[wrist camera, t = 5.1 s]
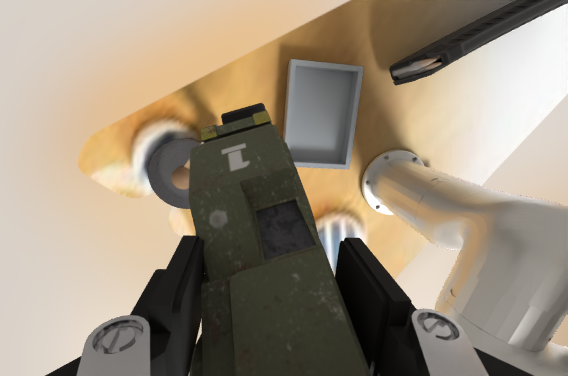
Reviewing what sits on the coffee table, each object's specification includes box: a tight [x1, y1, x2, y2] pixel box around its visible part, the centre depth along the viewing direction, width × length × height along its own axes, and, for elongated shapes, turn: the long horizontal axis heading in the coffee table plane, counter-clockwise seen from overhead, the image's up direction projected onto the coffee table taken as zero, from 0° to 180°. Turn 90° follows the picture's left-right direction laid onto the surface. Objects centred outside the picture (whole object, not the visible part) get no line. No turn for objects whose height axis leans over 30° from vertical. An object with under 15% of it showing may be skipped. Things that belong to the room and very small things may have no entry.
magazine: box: [389, 0, 568, 85], centre depth 43 cm, size 17×3×30 cm
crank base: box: [148, 139, 202, 209], centre depth 48 cm, size 12×12×2 cm
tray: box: [283, 59, 364, 169], centre depth 47 cm, size 12×17×3 cm
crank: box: [171, 124, 218, 189], centre depth 42 cm, size 13×4×8 cm, turn 141°
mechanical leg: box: [188, 103, 372, 376], centre depth 20 cm, size 14×7×30 cm, turn 15°
